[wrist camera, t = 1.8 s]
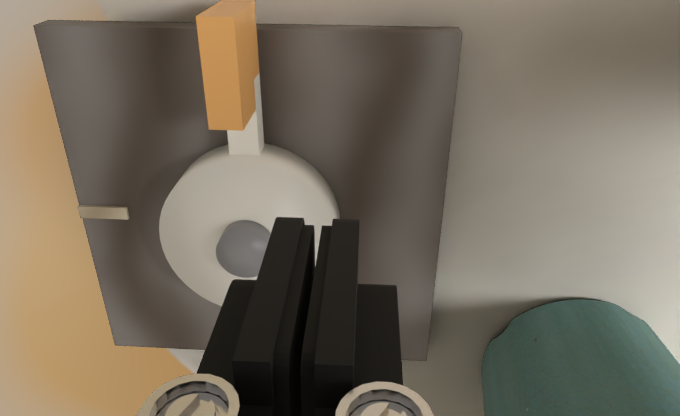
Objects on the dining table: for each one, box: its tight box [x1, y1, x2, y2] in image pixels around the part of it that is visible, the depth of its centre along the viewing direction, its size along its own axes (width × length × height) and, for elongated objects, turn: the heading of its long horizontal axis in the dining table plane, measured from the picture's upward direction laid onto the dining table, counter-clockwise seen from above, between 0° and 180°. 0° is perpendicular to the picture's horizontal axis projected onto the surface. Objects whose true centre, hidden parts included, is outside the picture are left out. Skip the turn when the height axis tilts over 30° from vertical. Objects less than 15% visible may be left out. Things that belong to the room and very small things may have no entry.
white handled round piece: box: [159, 0, 340, 306], centre depth 29 cm, size 18×10×5 cm, turn 0°
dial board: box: [34, 20, 462, 361], centre depth 34 cm, size 22×22×2 cm
